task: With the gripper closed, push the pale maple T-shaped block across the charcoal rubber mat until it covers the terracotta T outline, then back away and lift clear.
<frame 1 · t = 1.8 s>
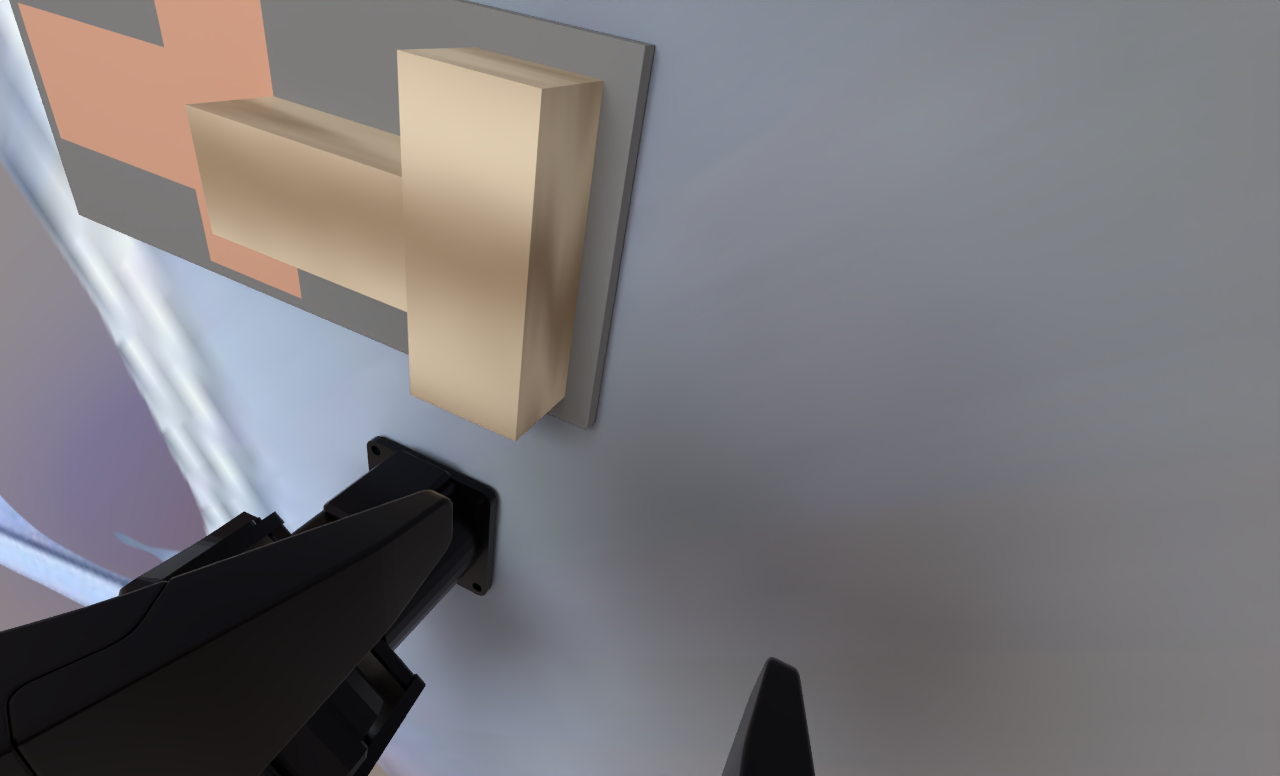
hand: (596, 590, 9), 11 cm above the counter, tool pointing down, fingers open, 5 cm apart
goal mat: (291, 153, 23), on the counter
t block: (420, 205, 21), point 1 cm above the counter, touching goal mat
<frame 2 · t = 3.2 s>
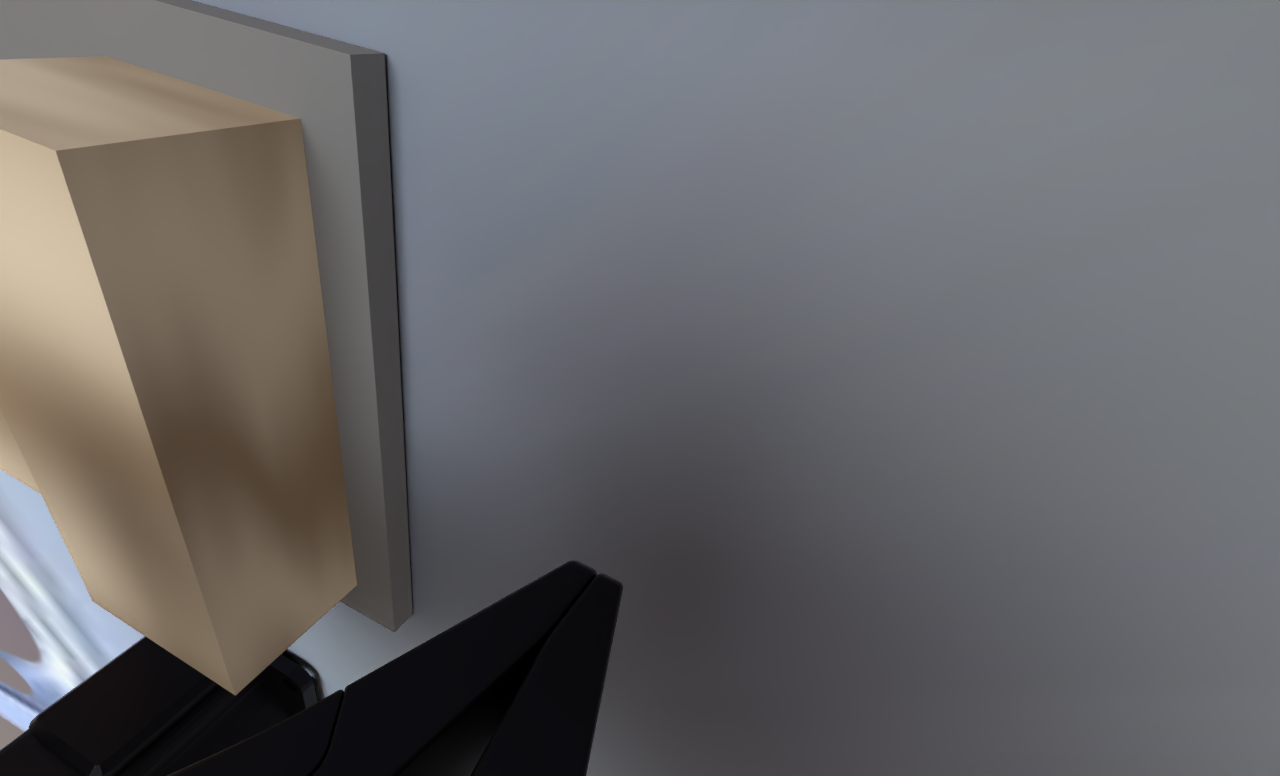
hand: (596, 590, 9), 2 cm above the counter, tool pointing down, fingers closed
t block: (112, 301, 13), point 1 cm above the counter, touching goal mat
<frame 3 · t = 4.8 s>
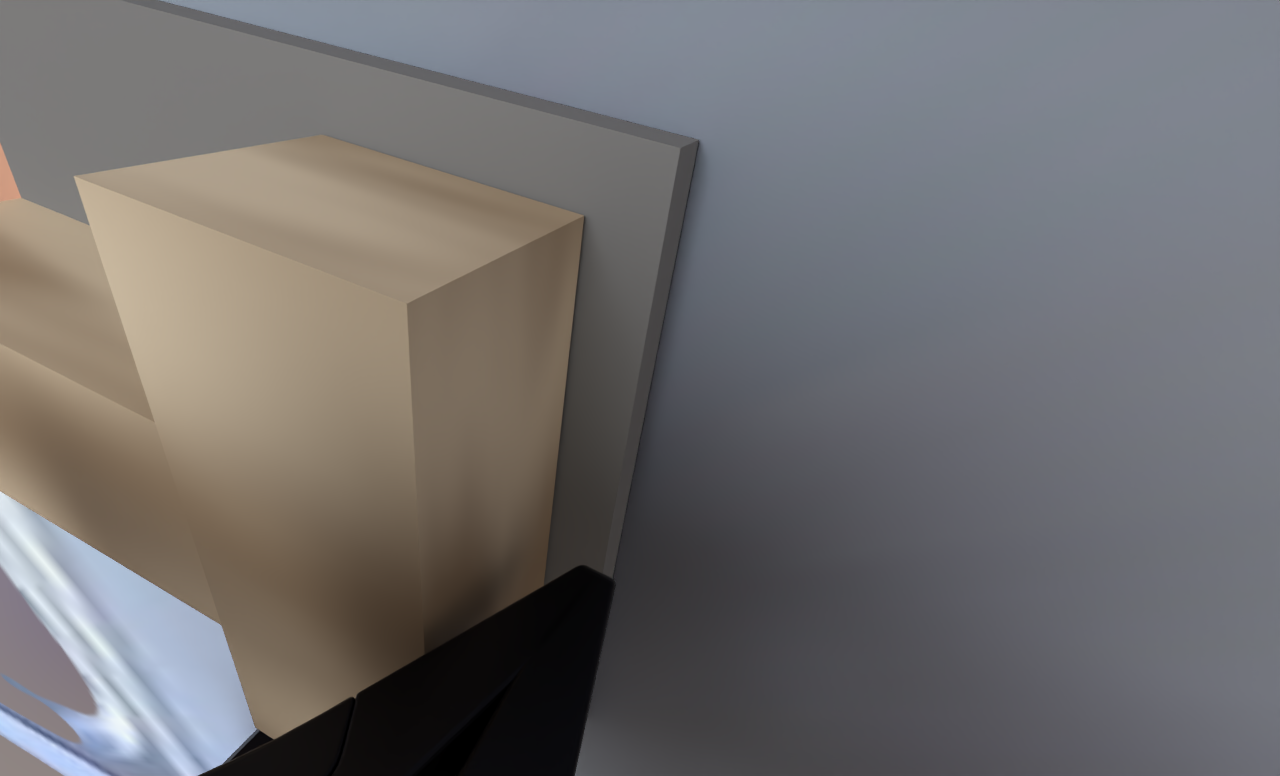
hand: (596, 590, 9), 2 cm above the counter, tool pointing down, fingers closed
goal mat: (80, 279, 14), on the counter
t block: (271, 389, 12), point 1 cm above the counter, touching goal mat, gripper
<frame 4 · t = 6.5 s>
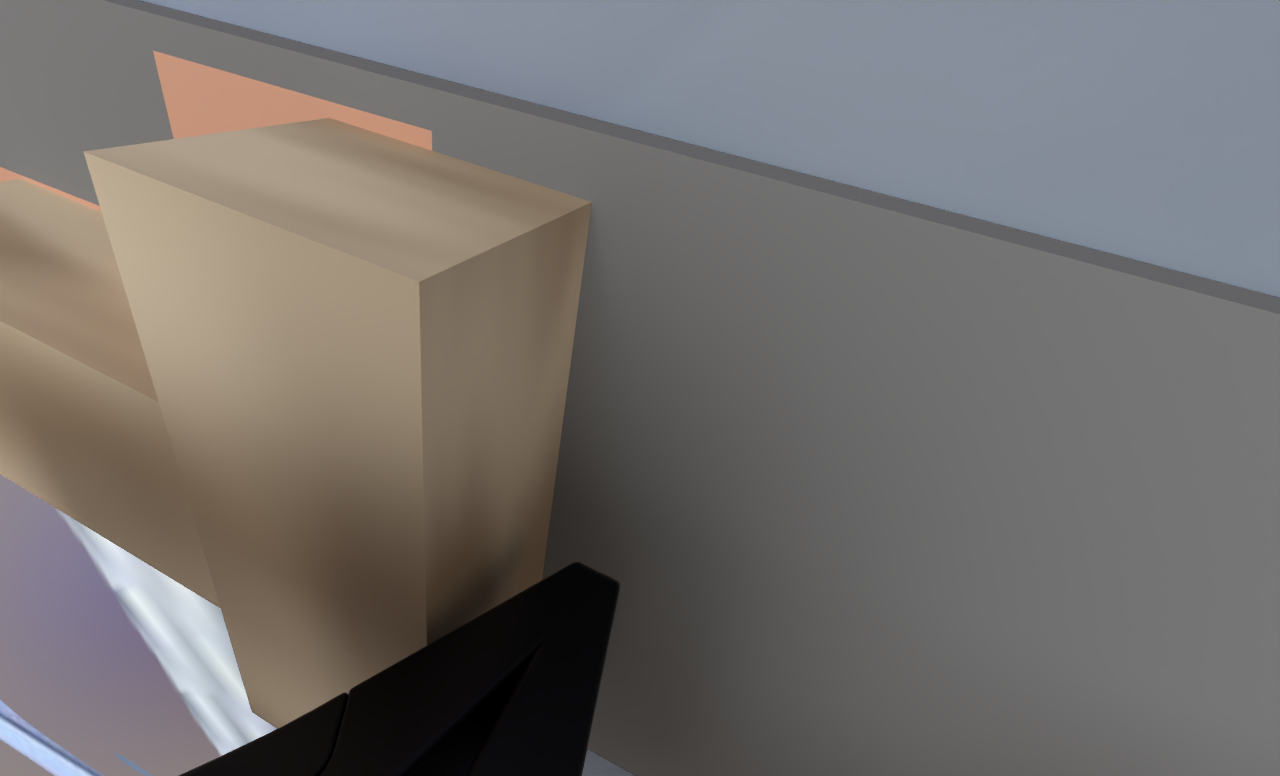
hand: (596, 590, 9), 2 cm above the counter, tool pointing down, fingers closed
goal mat: (449, 441, 11), on the counter
t block: (272, 374, 12), point 1 cm above the counter, touching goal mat, gripper
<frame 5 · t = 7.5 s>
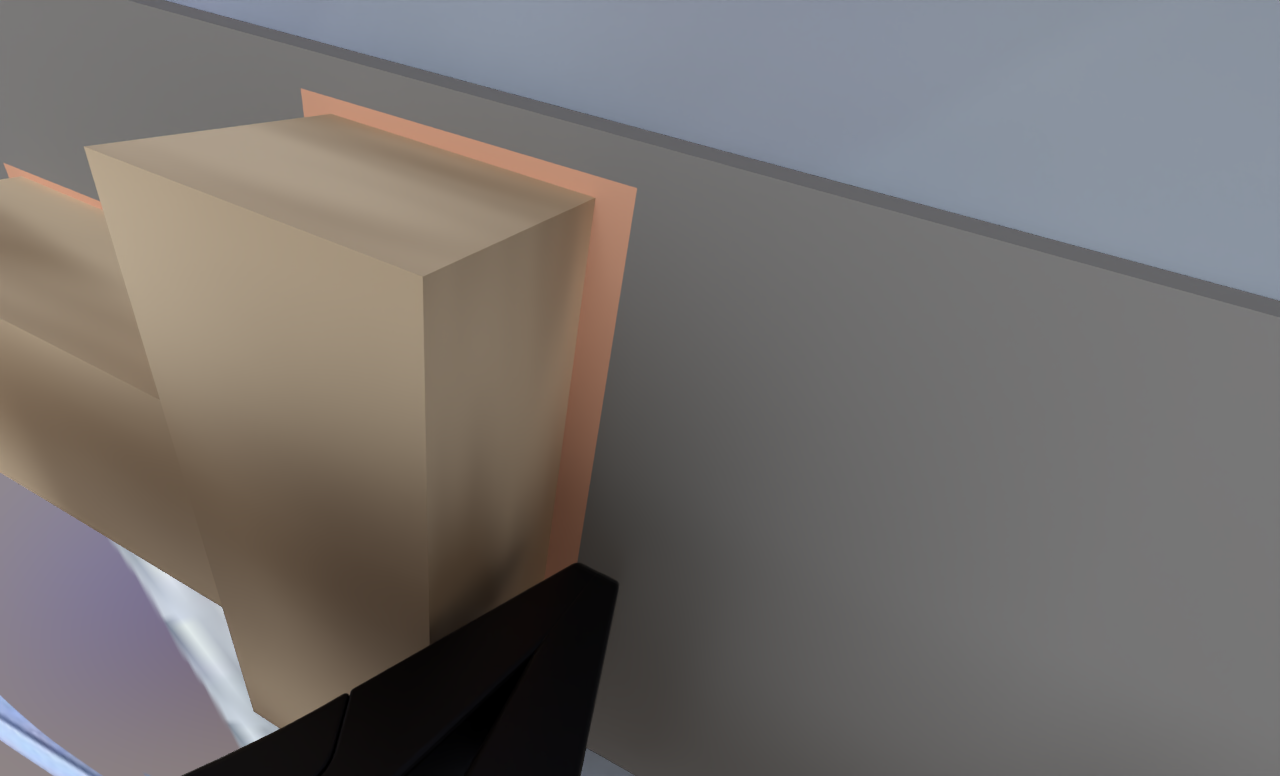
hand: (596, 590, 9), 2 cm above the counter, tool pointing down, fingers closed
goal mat: (586, 500, 11), on the counter
t block: (273, 373, 12), point 1 cm above the counter, touching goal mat, gripper
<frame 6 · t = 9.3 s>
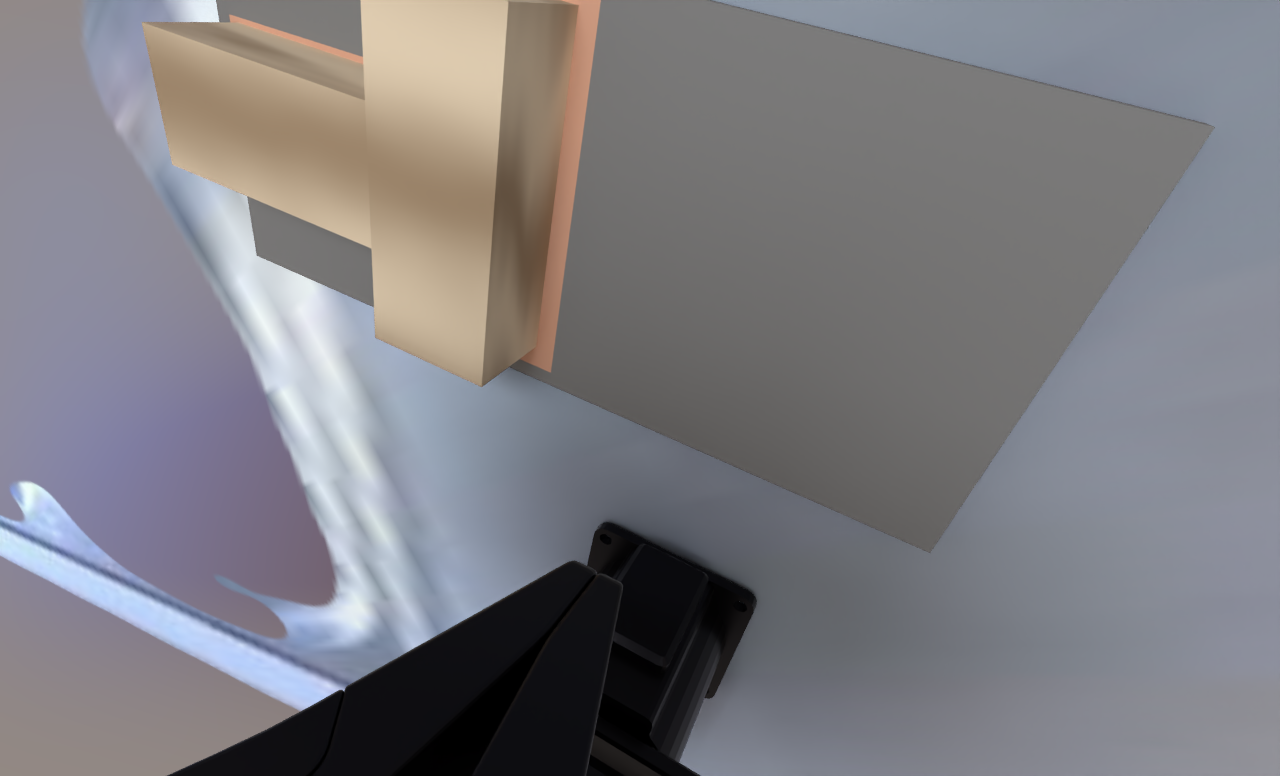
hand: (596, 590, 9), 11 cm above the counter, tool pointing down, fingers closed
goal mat: (574, 209, 19), on the counter
t block: (390, 141, 20), point 1 cm above the counter, touching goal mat
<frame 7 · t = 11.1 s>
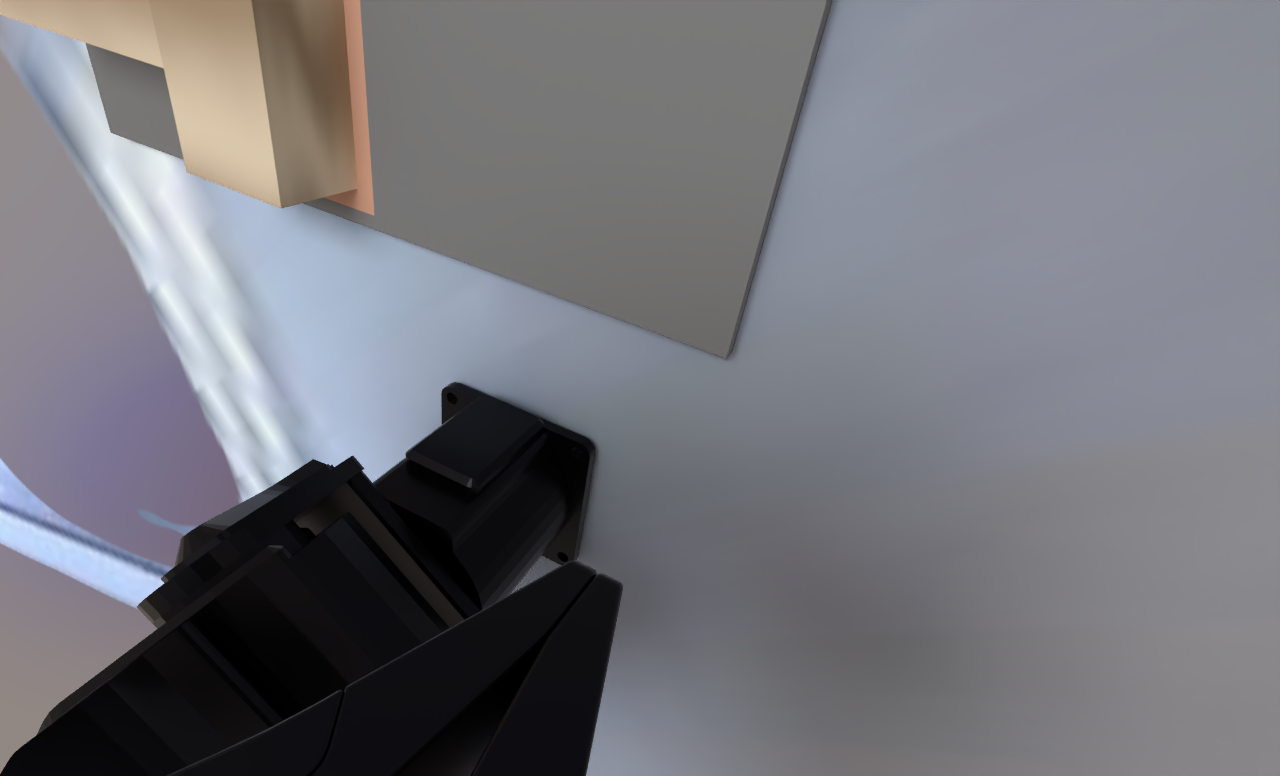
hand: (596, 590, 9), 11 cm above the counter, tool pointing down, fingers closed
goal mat: (370, 32, 19), on the counter
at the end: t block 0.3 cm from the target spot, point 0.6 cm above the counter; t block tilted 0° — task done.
